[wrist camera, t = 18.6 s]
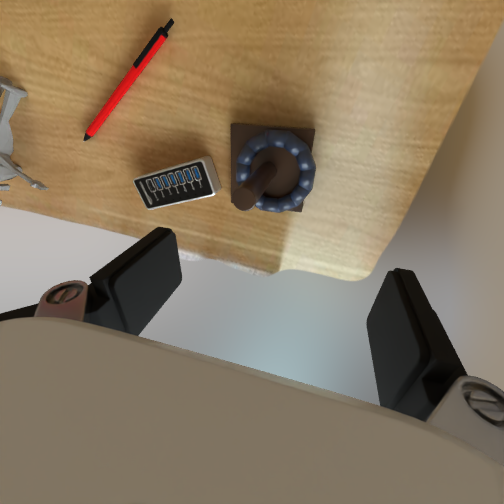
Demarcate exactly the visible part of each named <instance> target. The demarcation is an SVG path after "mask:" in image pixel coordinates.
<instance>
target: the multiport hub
mask: <svg viewBox="0 0 504 504" xmlns="http://www.w3.org/2000/svg"><path fill="white" fill-rule="evenodd" d="M133 183H134V185H135V187H136V189H137V191H138V193H139V195H140V197H141V199H142V201H143V203H144V205H145V207H146V208H147V209H148V210H151V209H155V208H160V207H164V206H169V205H173V204H178V203H182V202H187V201H191V200H196V199H200V198H205V197H209V196H213V195H215V194H216V193H217V192H218V191H219V190H221V185H220V182H219V179H218V176H217V173H216V170H215V167H214V164H213V161H212V158H211V157H210V156H205V157H202V158H198V159H195V160H192V161H188V162H185V163H181V164H178V165H175V166H171V167H168V168H164V169H161V170H158V171H154V172H151V173H147V174H144V175H142V176H139V177H136V178H134V179H133Z"/></svg>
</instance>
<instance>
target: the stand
mask: <svg viewBox="0 0 504 504" xmlns="http://www.w3.org/2000/svg"><path fill="white" fill-rule="evenodd" d="M267 129H272V130H286V131H290V132H292V133H293V134H295V135H296V136H297V137H298V138H300V139H301V140H302V141H304V142H305V143H306V144H307V145H308V146H309V149H310V151H311V153H312V147H313V141H314V135H315V129H313V128H298V127H284V126H269V125H255V124H240V123H232V124H231V203H234V205H235V207H236V208H238V209H239V210H242V211H249V210H251V209H252V208H253V207H254V206H255V205H256V203H257V202H258V200H259V199H260V197H261V196H262V195H264V196H265V197H269V198H277V199H279V198H282V197H284V196H286V195H289V194H291V192H292V191H293V190H294V189H295V187H296V186H297V185H298V182H299V175H300V168H299V165H298V163H297V160H296V158H295V156H294V155H292V154H291V153H290V152H288V151H287V150H286V149H285V148H281V147H267V148H266V149H264V150H262V151H260V152H258V153H257V154H256V156H255V157H254V159H253V161H252V162H251V164H250V176H249V177H248V178H247V179H246V180H245V181H244V182H243V183H242V184H241V185H240V186H238V184H237V182H236V159H237V157H238V155H239V154H240V152H241V150H242V148H243V146H244V145H245V143H246V141H247V140H248V139H250V138H252V137H254V136H255V135H257V134H259V133H261V132H262V131H264V130H267ZM303 201H304V200H303ZM303 201H302V202H301V203H300V205H298V206H296V207H294V208H291V209H289V210H287V211H295V212H302V207H303Z"/></svg>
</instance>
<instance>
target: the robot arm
mask: <svg viewBox="0 0 504 504" xmlns="http://www.w3.org/2000/svg"><path fill="white" fill-rule="evenodd" d="M89 278H90V280H91V282H92V283H91V284H90V285H87V284H86V283H85V282H83V281H78V280H77V281H76V280H74V281H68V282H64V283H60V284H58V285H56V286H54V287H52V288H51V289H49V290H48V291H46V292H45V293H44V294H43V296H42V297H41V299H40V301H39V303H38V304H34V305H31V306H27V307H24V308H20V309H16V310H12V311H8V312H5V313H1V314H0V504H504V392H503V391H502V390H501V389H499V388H498V387H497V386H495V385H493V384H491V383H490V382H488V381H486V380H483V379H481V378H478V377H474V376H468V375H467V373H466V371H465V369H464V367H463V365H462V363H461V361H460V359H459V357H458V355H457V353H456V351H455V349H454V348H453V345H452V344H451V341H450V340H449V338H448V336H447V334H446V332H445V330H444V328H443V326H442V324H441V322H440V320H439V318H438V316H437V314H436V312H435V311H434V310H433V309H432V307H431V305H430V304H429V301H428V299H427V297H426V295H425V293H424V291H423V289H422V287H421V285H420V283H419V281H418V280H417V278H416V275H415V273H414V272H413V271H411V270H405V269H400V268H395V269H394V271H388V273H387V275H386V278H385V279H384V282H383V284H382V286H381V288H380V291H379V293H378V295H377V297H376V299H375V302H374V304H373V306H372V309H371V311H370V313H369V315H368V318H367V331H368V337H369V343H370V348H371V354H372V360H373V366H374V372H375V378H376V383H377V389H378V395H379V401H380V406H378V405H375V404H372V403H369V402H365V401H362V400H359V399H355V398H352V397H349V396H346V395H342V394H339V393H336V392H332V391H329V390H325V389H322V388H318V387H315V386H312V385H308V384H305V383H301V382H298V381H294V380H291V379H288V378H284V377H281V376H277V375H274V374H270V373H267V372H263V371H260V370H256V369H253V368H249V367H246V366H242V365H239V364H235V363H232V362H228V361H225V360H221V359H218V358H214V357H210V356H207V355H204V354H200V353H196V352H193V351H189V350H186V349H182V348H179V347H175V346H171V345H168V344H164V343H161V342H157V341H154V340H150V339H146V338H143V337H139V336H138V335H139V334H140V333H141V332H142V330H143V329H144V328H145V327H146V325H147V324H148V323H149V322H150V321H151V319H152V318H153V317H154V316H155V314H156V313H157V312H158V311H159V309H160V308H161V307H162V305H163V304H164V303H165V302H166V301H167V300H168V298H169V297H170V296H171V294H172V293H173V292H174V291H175V289H176V288H177V287H178V286H179V285H180V283H181V281H182V273H181V267H180V261H179V254H178V248H177V242H176V235H175V233H174V232H172V230H171V229H169V228H163V227H157V228H156V229H154V230H153V231H151V232H150V233H149V234H147V235H146V236H145V237H143V238H142V239H141V240H139V241H138V242H137V243H135V244H134V245H133V246H131V247H130V248H128V249H127V250H126V251H124V252H123V253H122V254H120V255H119V256H118V257H116V258H115V259H114V260H112V261H111V262H110V263H108V264H107V265H105V266H104V267H103V268H101V269H100V270H99V271H97V272H96V273H95V274H93V275H92V276H90V277H89Z"/></svg>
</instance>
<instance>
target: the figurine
mask: <svg viewBox="0 0 504 504" xmlns="http://www.w3.org/2000/svg"><path fill="white" fill-rule="evenodd" d="M4 89H6V92H5V97H4V102H3V106H2V111H1V114H0V181H5V180H9V179H13V177H16V176H17V175H19V176H20V177H21V178H23V179H24V180H26V181H27V182H29V183H31V185H30V186H33V187H36V188H38V189H40V190H48V189H49V188H47V187H45V186H44V184H42V183H41V182H40V181H37V180H33V179H31V178H30V177H28V176H27V175H25V174H24V173H22V169H21V167H19V166H18V165H16V164H13V162H12V161H11V159H10V155H11V154H12V152H13V151H14V150H13V136H12V132H11V128H10V125H9V123H8V122H9V119H10V118H11V116H12V115H13V113H14V111H15V109H16V107H17V105H18V103H19V101H20V99H21V97H26V96H28V95H27V92H26V91H24V90H23V89H21V88H18V87H15V86H13V85H12V82H11V81H10V80H9V79H7V78H5V77H2V76H0V97H1V95H2V93H3V91H4ZM9 188H10V185H8V184H0V190H6V191H9ZM1 203H2V200H0V206H1Z"/></svg>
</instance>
